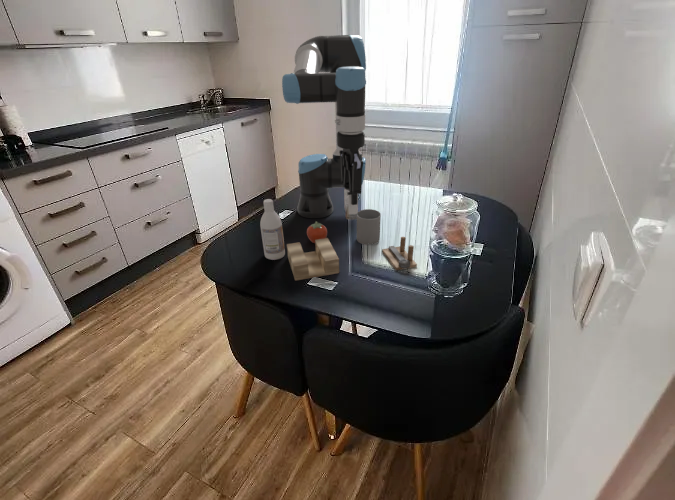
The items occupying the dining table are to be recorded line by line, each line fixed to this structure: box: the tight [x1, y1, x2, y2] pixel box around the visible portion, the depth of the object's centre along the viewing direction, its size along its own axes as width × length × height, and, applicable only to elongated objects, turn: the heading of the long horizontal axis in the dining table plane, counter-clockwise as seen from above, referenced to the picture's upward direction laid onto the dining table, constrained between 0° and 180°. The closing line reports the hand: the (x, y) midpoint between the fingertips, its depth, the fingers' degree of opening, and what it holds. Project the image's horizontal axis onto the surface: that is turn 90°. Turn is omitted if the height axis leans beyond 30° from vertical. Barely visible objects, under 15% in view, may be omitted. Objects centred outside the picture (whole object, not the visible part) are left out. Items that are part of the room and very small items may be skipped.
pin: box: [344, 188, 357, 221], centre depth 108 cm, size 4×4×9 cm
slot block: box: [286, 237, 340, 281], centre depth 116 cm, size 14×14×5 cm
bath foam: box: [259, 198, 286, 261], centre depth 118 cm, size 7×7×20 cm
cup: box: [356, 208, 382, 246], centre depth 129 cm, size 8×8×10 cm
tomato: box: [306, 220, 328, 244], centre depth 129 cm, size 7×7×8 cm
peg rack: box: [381, 236, 418, 271], centre depth 117 cm, size 13×7×6 cm, turn 15°
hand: (351, 210), depth 109 cm, fingers closed on pin, 3 cm apart
